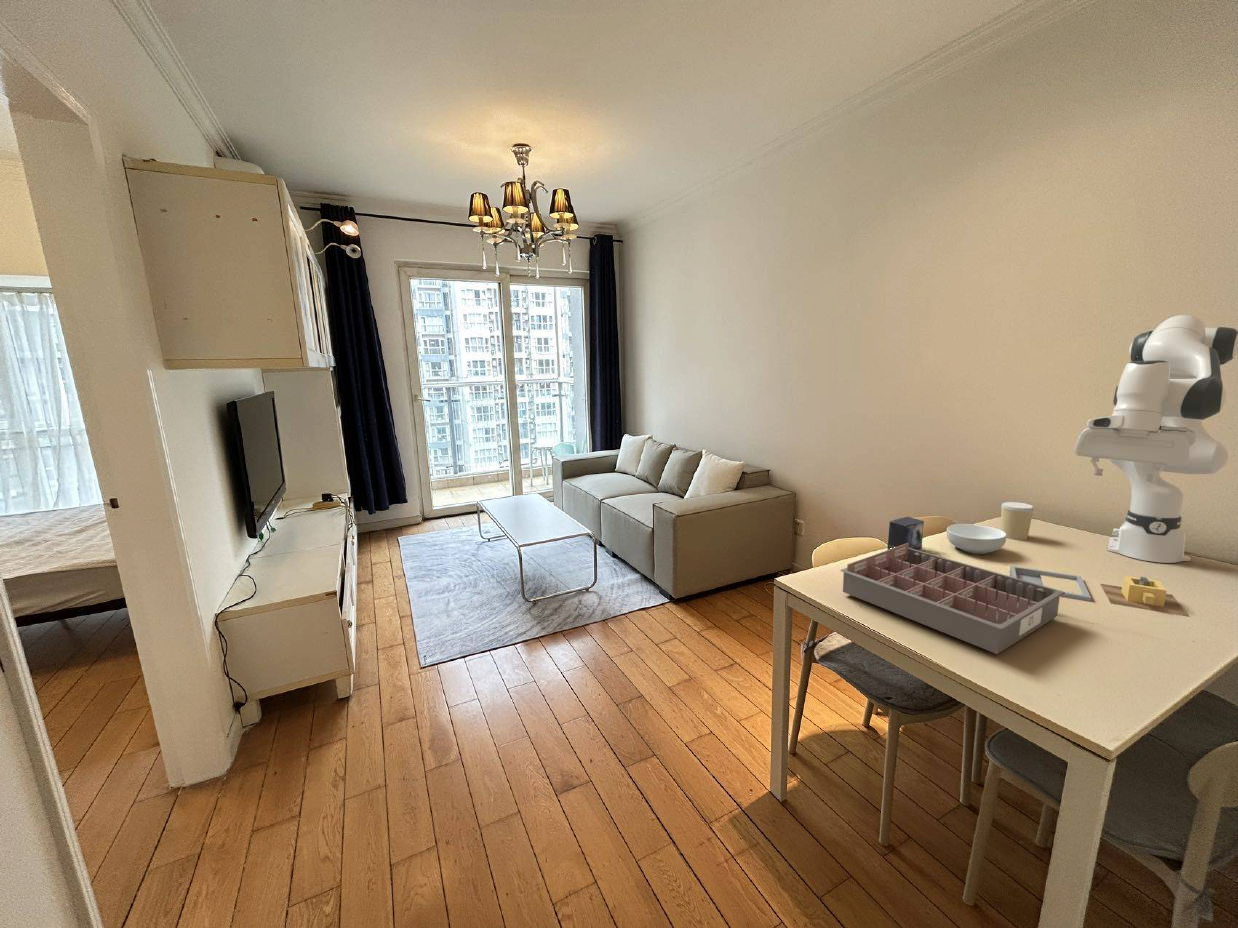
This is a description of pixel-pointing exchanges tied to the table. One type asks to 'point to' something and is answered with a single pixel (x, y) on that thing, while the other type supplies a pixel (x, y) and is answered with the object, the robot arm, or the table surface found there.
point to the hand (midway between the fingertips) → (1123, 478)
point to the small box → (905, 533)
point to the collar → (1143, 591)
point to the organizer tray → (952, 596)
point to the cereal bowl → (976, 538)
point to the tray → (1035, 577)
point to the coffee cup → (1016, 519)
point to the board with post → (1119, 599)
